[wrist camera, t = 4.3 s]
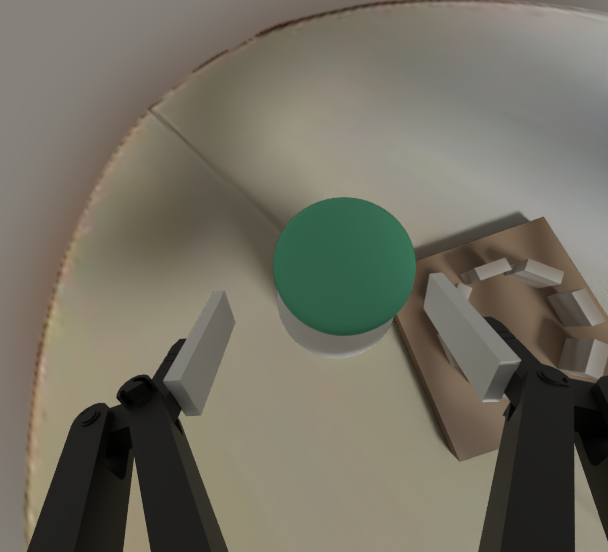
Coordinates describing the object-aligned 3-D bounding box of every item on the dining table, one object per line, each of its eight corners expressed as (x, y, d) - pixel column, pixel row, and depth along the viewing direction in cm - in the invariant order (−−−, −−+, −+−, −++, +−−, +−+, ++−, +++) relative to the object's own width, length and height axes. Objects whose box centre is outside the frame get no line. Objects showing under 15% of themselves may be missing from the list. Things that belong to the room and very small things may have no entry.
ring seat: (531, 222, 27) (566, 204, 23) (637, 391, 23) (701, 403, 19) (376, 276, 27) (385, 267, 23) (451, 453, 23) (476, 478, 19)
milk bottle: (313, 267, 28) (281, 126, 9) (378, 292, 27) (507, 191, 8) (286, 330, 27) (179, 327, 8) (352, 360, 26) (430, 448, 6)
